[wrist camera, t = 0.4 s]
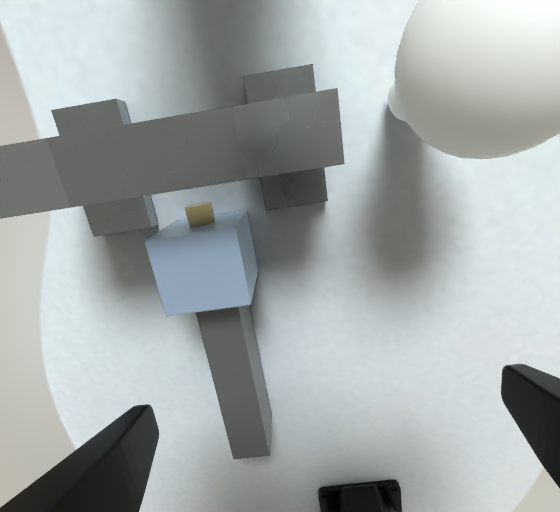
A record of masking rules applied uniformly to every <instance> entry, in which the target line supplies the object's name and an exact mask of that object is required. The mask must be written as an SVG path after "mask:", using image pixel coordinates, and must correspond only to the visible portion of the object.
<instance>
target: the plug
mask: <svg viewBox="0 0 560 512" xmlns="http://www.w3.org/2000/svg"><path fill="white" fill-rule="evenodd" d="M185 211H186V215H187V219H182V220H177V221H175V222H174V223H172V224H170V225H169V226H167V227H166V228H164V229H162V230H161V231H159V232H158V233H156V234H155V235H153V236H151V237H150V238H148V239H147V240H145V241H144V242H145V246H146V249H147V253H148V256H149V260H150V263H151V266H152V270H153V273H154V277H155V280H156V284H157V287H158V291H159V294H160V298H161V301H162V305H163V308H164V311H165V315H166V316H172V315H179V314H186V313H194V312H196V315H197V319H198V323H199V327H200V331H201V334H202V338H203V342H204V346H205V350H206V354H207V358H208V362H209V366H210V369H211V373H212V377H213V381H214V385H215V389H216V393H217V397H218V401H219V405H220V408H221V412H222V416H223V420H224V424H225V428H226V432H227V436H228V440H229V443H230V447H231V451H232V455H233V459H241V458H250V457H259V456H269V455H270V439H271V417H272V414H271V409H270V404H269V399H268V394H267V389H266V384H265V379H264V374H263V369H262V364H261V359H260V354H259V349H258V344H257V339H256V334H255V329H254V324H253V319H252V314H251V309H250V305H251V302H252V298H253V293H254V288H255V284H256V279H257V274H258V266H257V260H256V255H255V250H254V244H253V239H252V234H251V228H250V223H249V217H248V212H247V210H241V211H234V212H228V213H221V214H215V215H214V214H213V209H212V204H211V202H205V203H199V204H194V205H189V206H186V207H185Z"/></svg>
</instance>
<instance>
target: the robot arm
mask: <svg viewBox="0 0 560 512" xmlns="http://www.w3.org/2000/svg"><path fill="white" fill-rule="evenodd" d="M501 396H502V400H503V402H504V404H505V406H506V407H507V409H508V411H509V412H510V414H511V415H512V417H513V419H514V420H515V422H516V424H517V425H518V427H519V428H520V430H521V432H522V433H523V435H524V436H525V438H526V440H527V441H528V443H529V444H530V446H531V448H532V449H533V451H534V453H535V454H536V456H537V457H538V459H539V460H540V462H541V463H542V465H543V466H544V468H545V469H546V470H547V472H548V473H549V474H550V476H551V477H552V479H553V480H554V481H555V483H556V484H557V485H558V487H559V488H560V378H557V377H555V376H552V375H550V374H547V373H545V372H542V371H540V370H537V369H535V368H532V367H529V366H527V365H524V364H513V365H506V366H504V367H503V370H502V384H501ZM158 439H159V429H158V425H157V422H156V419H155V415H154V412H153V409H152V407H151V406H150V405H148V404H146V405H137V406H134V407H132V408H131V409H129V410H128V411H127V412H125V413H124V414H123V415H121V416H120V417H119V418H117V419H116V420H115V421H114V422H112V423H111V424H110V425H108V426H107V427H106V428H104V429H103V430H102V431H100V432H99V433H98V434H96V435H95V436H94V437H93V438H91V439H90V440H89V441H87V442H86V443H85V444H83V445H82V446H81V447H79V448H78V449H77V450H75V451H74V452H73V453H72V454H70V455H69V456H68V457H66V458H65V459H64V460H62V461H61V462H60V463H58V464H57V465H56V466H54V467H53V468H52V469H51V470H49V471H48V472H47V473H45V474H44V475H43V476H41V477H40V478H39V479H37V480H36V481H35V482H33V483H32V484H31V485H30V486H28V487H27V488H26V489H24V490H23V491H22V492H20V493H19V494H18V495H16V496H15V497H14V498H12V499H11V500H10V501H9V502H7V503H6V504H5V505H3V506H2V507H1V508H0V512H139V509H140V506H141V503H142V500H143V496H144V493H145V489H146V485H147V482H148V478H149V474H150V470H151V466H152V462H153V458H154V455H155V451H156V447H157V443H158ZM318 494H319V501H320V507H321V512H402V506H401V489H400V486H399V483H398V481H396V480H385V481H375V482H366V483H356V484H347V485H337V486H328V487H321V488H320V489H319V490H318Z"/></svg>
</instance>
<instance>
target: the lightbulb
mask: <svg viewBox="0 0 560 512" xmlns="http://www.w3.org/2000/svg"><path fill="white" fill-rule="evenodd" d="M388 104H389V108H390V110H391V112H392V113H393V115H394V116H396V117H397V118H398V119H400V120H402V121H406V122H407V123H408V124H409V126H410V127H411V129H412V130H413V131H414V133H415V134H417V135H418V136H419V137H420V138H421V139H422V140H423V141H425V142H426V143H427V144H429V145H431V146H433V147H434V148H436V149H438V150H440V151H442V152H444V153H446V154H449V155H453V156H457V157H460V158H474V159H491V158H498V157H504V156H508V155H512V154H515V153H518V152H521V151H524V150H527V149H530V148H533V147H535V146H537V145H539V144H541V143H543V142H545V141H546V140H548V139H550V138H552V137H554V136H555V135H557V134H559V133H560V0H419V2H418V3H417V4H416V6H415V8H414V10H413V12H412V14H411V16H410V18H409V20H408V22H407V24H406V27H405V29H404V32H403V35H402V39H401V42H400V45H399V48H398V51H397V57H396V64H395V80H394V82H393V83H392V85H391V87H390V90H389V94H388Z"/></svg>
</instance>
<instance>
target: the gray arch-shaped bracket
mask: <svg viewBox="0 0 560 512" xmlns="http://www.w3.org/2000/svg"><path fill="white" fill-rule="evenodd" d="M243 79H244V84H245V90H246V96H247V102H248V104H243V105H237V106H231V107H225V108H220V109H214V110H208V111H202V112H196V113H190V114H185V115H179V116H173V117H167V118H161V119H155V120H150V121H144V122H138V123H132V124H131V122H130V118H129V115H128V111H127V107H126V103H125V101H122V100H118V99H112V100H106V101H101V102H95V103H89V104H84V105H78V106H72V107H67V108H61V109H55V110H51V111H52V114H53V117H54V120H55V123H56V126H57V129H58V132H59V135H60V136H56V137H51V138H45V139H39V140H33V141H27V142H21V143H16V144H10V145H4V146H0V219H1V218H7V217H13V216H20V215H26V214H32V213H39V212H45V211H51V210H57V209H64V208H70V207H76V206H83V207H84V210H85V213H86V216H87V218H88V221H89V224H90V227H91V230H92V233H93V236H101V235H107V234H114V233H120V232H127V231H133V230H140V229H146V228H152V227H154V226H156V225H158V222H157V218H156V214H155V210H154V207H153V203H152V199H151V196H150V195H152V194H158V193H165V192H171V191H177V190H183V189H190V188H196V187H202V186H209V185H215V184H221V183H228V182H234V181H240V180H246V179H253V178H259V177H260V179H261V185H262V191H263V197H264V203H265V209H266V210H271V209H277V208H284V207H290V206H297V205H303V204H310V203H316V202H323V201H328V199H327V190H326V181H325V172H324V167H328V166H335V165H341V164H344V155H343V144H342V133H341V122H340V111H339V100H338V90H337V88H336V89H330V90H325V91H319V92H316V90H315V81H314V72H313V64H311V65H305V66H299V67H294V68H288V69H282V70H277V71H271V72H265V73H260V74H254V75H248V76H243Z"/></svg>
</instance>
